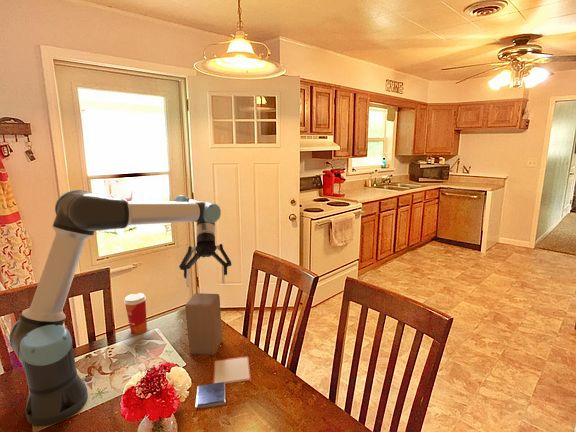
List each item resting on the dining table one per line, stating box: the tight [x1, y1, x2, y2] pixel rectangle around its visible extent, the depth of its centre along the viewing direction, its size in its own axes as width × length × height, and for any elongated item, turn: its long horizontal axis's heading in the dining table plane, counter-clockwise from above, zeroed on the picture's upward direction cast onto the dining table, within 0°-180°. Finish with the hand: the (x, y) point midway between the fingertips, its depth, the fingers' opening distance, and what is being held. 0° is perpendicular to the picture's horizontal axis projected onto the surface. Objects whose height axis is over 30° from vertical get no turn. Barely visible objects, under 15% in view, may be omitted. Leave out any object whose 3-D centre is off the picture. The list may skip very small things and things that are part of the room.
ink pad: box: [195, 382, 227, 410], centre depth 102 cm, size 8×8×1 cm
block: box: [184, 292, 223, 356], centre depth 124 cm, size 10×10×20 cm
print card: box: [212, 355, 252, 385], centre depth 113 cm, size 12×12×1 cm
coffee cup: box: [123, 292, 148, 335], centre depth 137 cm, size 8×8×15 cm
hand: (205, 284), depth 130 cm, fingers open, 13 cm apart
